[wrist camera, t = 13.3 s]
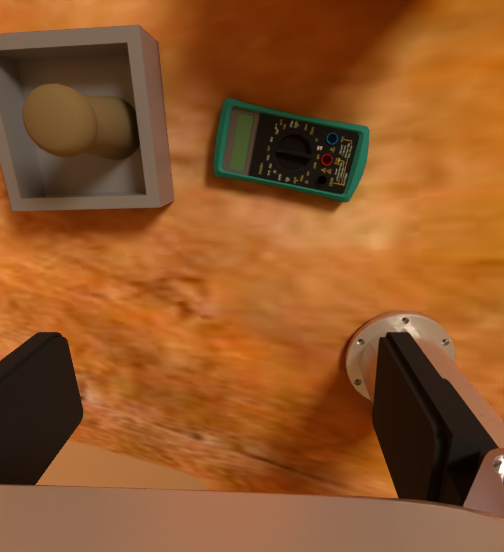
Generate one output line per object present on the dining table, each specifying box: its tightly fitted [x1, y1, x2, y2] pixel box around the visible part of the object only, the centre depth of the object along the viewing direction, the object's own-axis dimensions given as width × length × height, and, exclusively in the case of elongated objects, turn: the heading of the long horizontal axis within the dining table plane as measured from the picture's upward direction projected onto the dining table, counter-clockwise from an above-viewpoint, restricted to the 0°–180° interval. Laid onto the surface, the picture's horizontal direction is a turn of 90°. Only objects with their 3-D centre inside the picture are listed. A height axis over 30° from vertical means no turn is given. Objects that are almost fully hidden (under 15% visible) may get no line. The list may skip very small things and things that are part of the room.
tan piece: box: [22, 83, 140, 160], centre depth 31 cm, size 6×6×11 cm
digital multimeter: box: [213, 98, 369, 202], centre depth 36 cm, size 7×15×3 cm, turn 79°
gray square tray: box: [0, 25, 174, 211], centre depth 35 cm, size 15×15×5 cm
